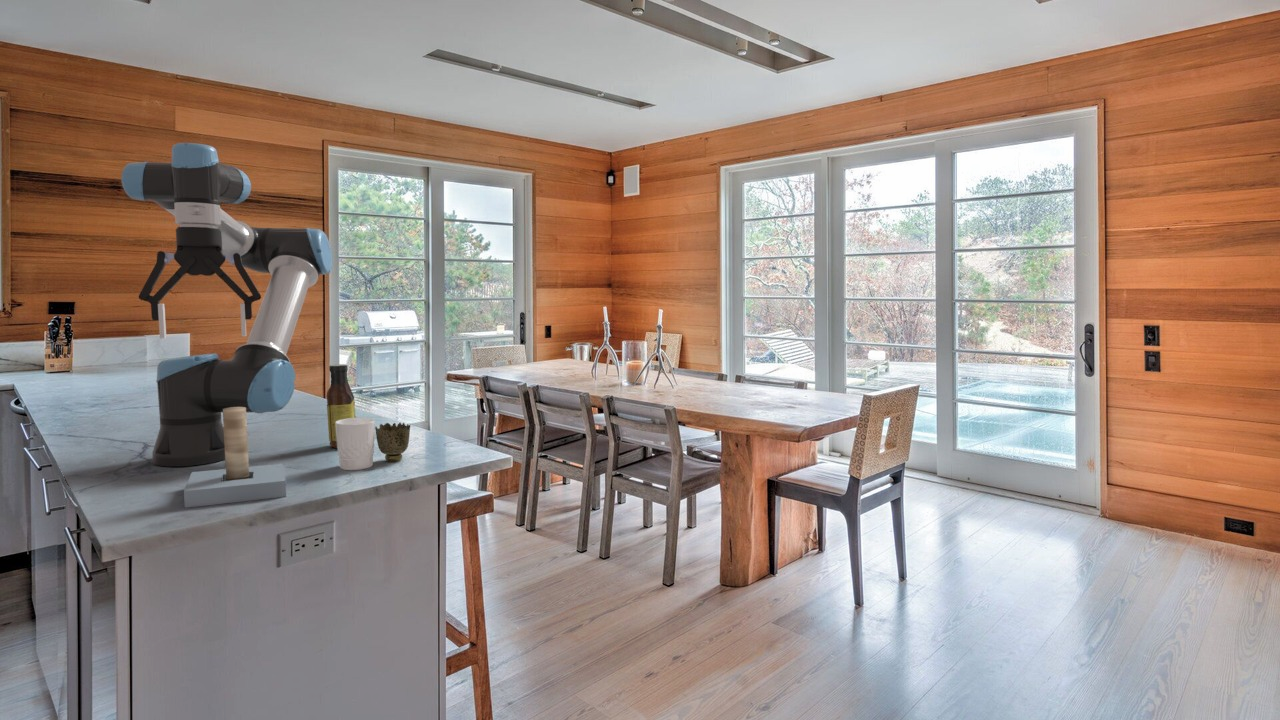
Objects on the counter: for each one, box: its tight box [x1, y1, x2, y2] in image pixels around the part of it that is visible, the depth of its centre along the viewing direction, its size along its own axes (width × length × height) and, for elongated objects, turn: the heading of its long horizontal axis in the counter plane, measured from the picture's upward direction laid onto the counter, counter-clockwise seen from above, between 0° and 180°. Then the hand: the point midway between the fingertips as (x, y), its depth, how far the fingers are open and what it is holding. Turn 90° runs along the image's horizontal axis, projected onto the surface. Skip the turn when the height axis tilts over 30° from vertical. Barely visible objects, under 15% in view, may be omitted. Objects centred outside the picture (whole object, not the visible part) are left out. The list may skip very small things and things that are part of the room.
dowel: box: [222, 407, 250, 481], centre depth 136 cm, size 4×4×16 cm
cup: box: [374, 422, 411, 463], centre depth 161 cm, size 8×7×8 cm
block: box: [183, 463, 287, 509], centre depth 136 cm, size 14×16×3 cm
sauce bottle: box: [326, 363, 356, 449], centre depth 174 cm, size 6×6×20 cm
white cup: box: [335, 417, 376, 471], centre depth 156 cm, size 8×8×10 cm
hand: (204, 337), depth 141 cm, fingers open, 13 cm apart
